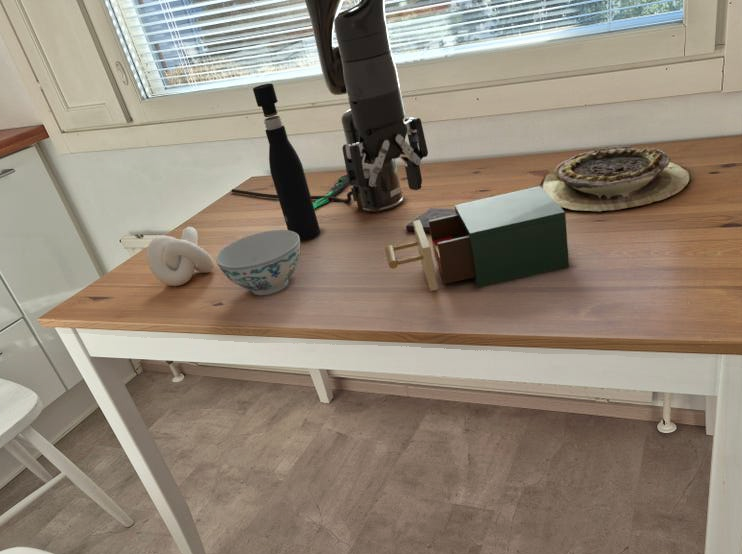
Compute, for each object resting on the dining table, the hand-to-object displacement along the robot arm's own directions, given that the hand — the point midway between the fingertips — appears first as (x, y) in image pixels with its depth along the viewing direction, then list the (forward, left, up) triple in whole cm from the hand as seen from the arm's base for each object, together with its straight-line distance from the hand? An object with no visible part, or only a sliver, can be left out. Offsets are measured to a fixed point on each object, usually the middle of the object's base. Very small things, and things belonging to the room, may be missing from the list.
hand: (396, 198), depth 104 cm
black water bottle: (-32, +23, -15) cm, 42 cm away
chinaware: (-28, 0, -15) cm, 31 cm away
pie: (+28, +39, -15) cm, 50 cm away
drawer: (+6, +3, -14) cm, 15 cm away
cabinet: (+15, +7, -15) cm, 22 cm away
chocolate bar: (+1, +24, -15) cm, 28 cm away
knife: (-37, +48, -15) cm, 62 cm away
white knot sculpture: (-50, +6, -15) cm, 52 cm away
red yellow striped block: (+6, +3, -12) cm, 14 cm away
